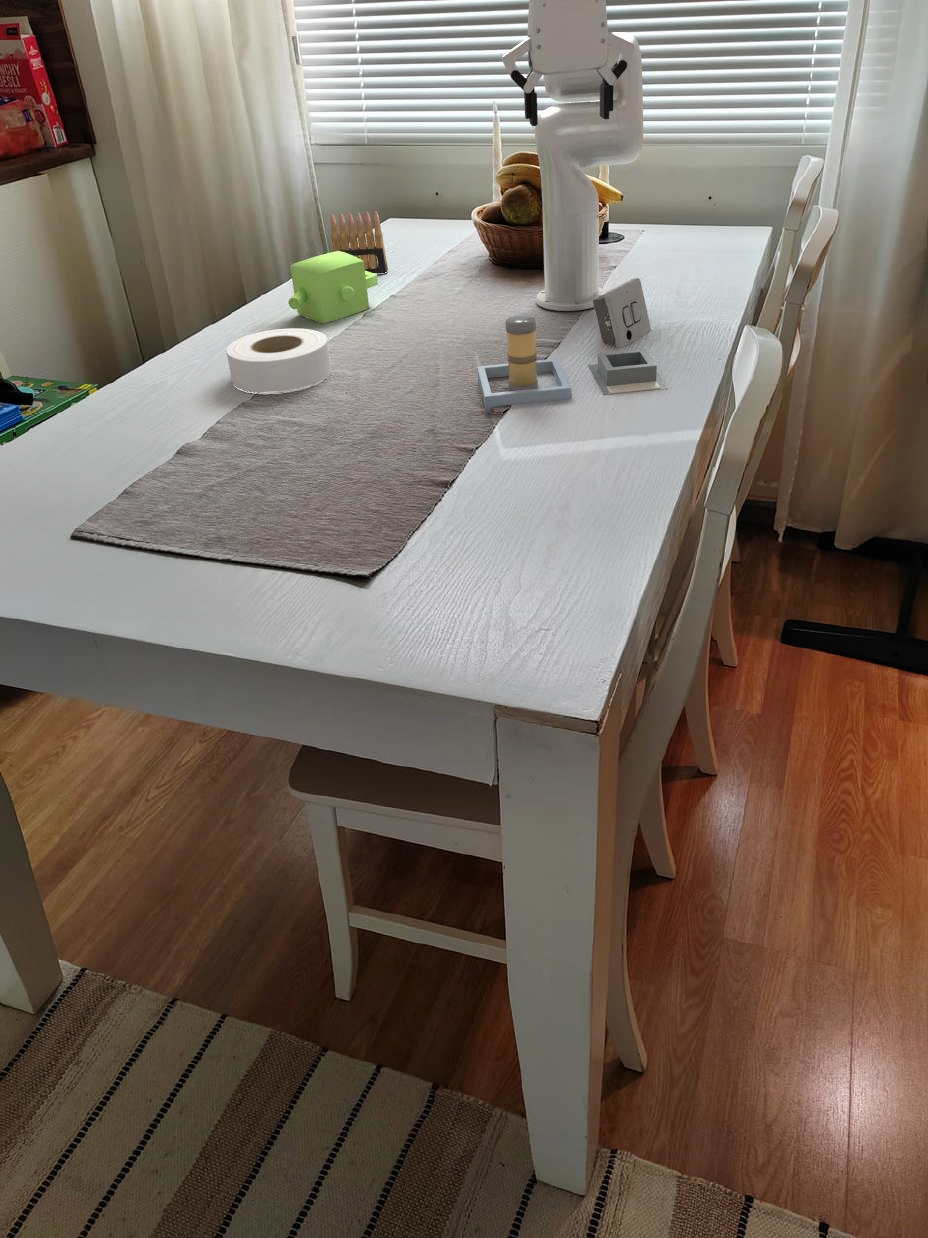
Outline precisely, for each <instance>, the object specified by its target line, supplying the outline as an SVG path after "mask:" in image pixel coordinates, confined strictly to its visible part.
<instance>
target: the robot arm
mask: <svg viewBox="0 0 928 1238" xmlns="http://www.w3.org/2000/svg"><path fill="white" fill-rule="evenodd" d="M640 47H641V46H640V45H639V42H638V40H637V39H636V37H635V36H634V35H632V34H631V33H628V32H622V31H619V32H618V31H617V32H615V31H614V32H611V31H609V28H608V13H607V2H606V0H528V13H527V38H526V39H524V40H523V41H521V42H520V43H519V44H517V45H516V46H514V47H513V48H512V49H510V50H509V51H507V52H506V53H504V54H503V55H502V57H501V61H502V64H503V66H504V67H505V69H506V71H507V73H508V75H509V78H510V79H511V80H512V81H514V82H515V84H516V85H517V86H518V87H519V88H520V89H521V90H523V97H524V98H523V99H524V117H525V120H529V124H530V126H532V127H534V139H535V140H534V141H535V147H536V152H537V159H538V164H539V171H540V180H541V181H540V183H541V184H540V185H541V199H542V200H541V202H542V203H541V205H542V229H543V231H542V232H543V233H542V234H543V265H544V266H543V269H544V271H543V272H544V289H543V290H541V291H540V292H538V293H537V295H536V304H537V305H538V306H539V307H541V308H543V309H546V310H550V311H557V312H558V311H559V312H576V311H582V310H589V309H594V304H593V300H594V299H596V298H598V297H600V296H602V295H604V294H605V293H606V292H608V291H607V290H606V289H604V288H603V287H600V285H599V284H600V283H599V282H600V281H599V280H600V279H599V276H600V275H599V274H600V273H599V272H600V271H599V269H600V268H599V262H600V261H599V260H600V259H599V257H600V254H599V253H600V252H599V250H600V249H599V247H600V244H599V238H600V235H599V234H600V231H599V230H600V229H599V228H600V226H599V224H600V222H599V221H600V217H599V216H600V215H599V213H600V212H599V211H600V206H599V205H600V203H599V202H600V201H599V200H600V198H599V193H598V190H597V187H596V186H595V184H594V183H593V181H592V180H591V179H590V177H588V175H586V173H585V172H584V170H583V169H585V168H591V167H602V166H603V167H604V166H618V165H619V166H620V165H627V164H630V163H633V162H635V161H637V159H638V158H639V156H641V152H642V150H643V143H644V96H643V95H644V91H643V87H644V86H643V65H642V64H643V63H642V51H641V48H640ZM526 54H527V62H528V63H527V64H528V68H529V69H530V70H529V72H527V75H525V76H524V75H523V74H522V73H521V72H520V71H519V69H518V67H517V64H516V62H517V60H519V59H520V58H521V57H523V55H526ZM542 77H543V85H544V89H545V92H546V95H547V96H548V97H549V98H550V99H551V100H554V101H555V102H562V103H559V104H555V105H552V106H549V107H547V108H545V109H544V110H543V111H541V112H540V113H539V115H538V93H537V92H536V91H535V87H536V86H537V84H538V82H539V81H540V79H542ZM563 102H564V103H563Z"/></svg>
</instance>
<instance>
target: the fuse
mask: <svg viewBox="0 0 928 1238" xmlns="http://www.w3.org/2000/svg"><path fill="white" fill-rule="evenodd" d="M536 330H537V319H536V317H533V316H530V315H517V316H511V317H508V318H507V319H506V320H505V331H506V344H507V348H506V349H507V353H506V354H507V363H508V368H509V376H508V390H509V391H518V390H528V389H538V388H539V380H538V373H537V362H536V360H537V359H538V355H537V340H536V338H537V337H536Z"/></svg>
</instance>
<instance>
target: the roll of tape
mask: <svg viewBox="0 0 928 1238" xmlns="http://www.w3.org/2000/svg"><path fill="white" fill-rule="evenodd" d="M225 352H226V356H227V357H226V358H227V361H228V367H229V368H228V369H229V371H230V376H231V377H230V378H231V382H233V383H232V385H233V384H234V385H235V386H236V387H237V388H239V389H242V390H244V391H247V392H248V391H249V392H254V393H255V392H264V391H265V392H266V391H281V390H288V389H295V388H300V387H304V386H307V385H310V384H315V383H317V382H319V381H321V380H323V379H324V378H326V377H327V376H328V375H329V374H330V372H331V369H332V362H331V355H330V347H329V341H328V337H327V336H326V335H325V334H324V333H323V332H321V331H317V330H315V329H309V328H298V327H297V328H280V329H277V328H276V329H270V330H265V331H260V332H256V333H250V334H247V335H244V336H242V337H240V338H237V339H235V340H234V341H233V342H232V343H230V344H229V345H228V346H227V347H226V351H225Z"/></svg>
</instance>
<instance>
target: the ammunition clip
mask: <svg viewBox="0 0 928 1238" xmlns="http://www.w3.org/2000/svg"><path fill="white" fill-rule="evenodd" d="M373 214H374V215H373V223H372V220H371V215H370V213H369V212H368V211H366V212H365V221H364V222H365V228H364V223H363V218H362V216H361V214H360V212H359V211H358V212H357V215H356V226H355V222H354V218H353V215H352V214H351V212H349V213H348V216H347V221H348V222H347V223H348V225H347V226H348V229H347V226H346V221H345V217H344V215H343V214H342V213H339V230H338V225H337V221H336V218H335V215H334V214H333V213H331V215H330V230H331V243H332V252H335V251H341V252H345V253H347V254H350V255H352V256H355V257H357V258H359V259H361V260H363V261H364V268H365V271H368V272H371V273H385V272H387V270H388V271H389V268H388V263H387V262H388V261H387V256H386V250H385V244H384V237H383V236H384V234H383V232H382V226H381V221H380V217H379V213H378V211H377V210H375V211H374V213H373ZM372 224H373V225H374V226H373V225H372ZM355 227H356V228H357V232H356V228H355ZM373 227H374V231H373ZM347 230H348V231H347ZM339 232H340V233H339ZM387 273H388V272H387Z"/></svg>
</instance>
